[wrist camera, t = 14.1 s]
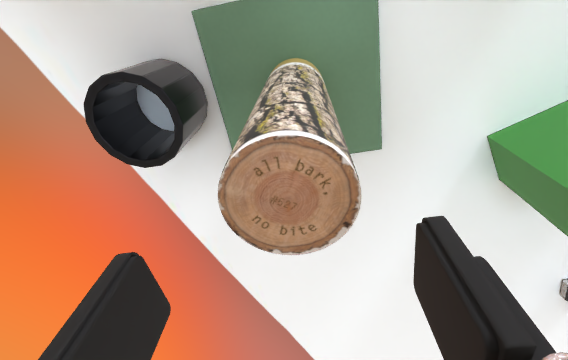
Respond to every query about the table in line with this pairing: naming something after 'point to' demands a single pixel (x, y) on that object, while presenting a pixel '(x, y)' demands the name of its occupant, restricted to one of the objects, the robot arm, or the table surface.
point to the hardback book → (537, 162)
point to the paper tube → (290, 168)
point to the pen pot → (132, 122)
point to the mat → (296, 44)
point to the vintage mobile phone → (564, 290)
